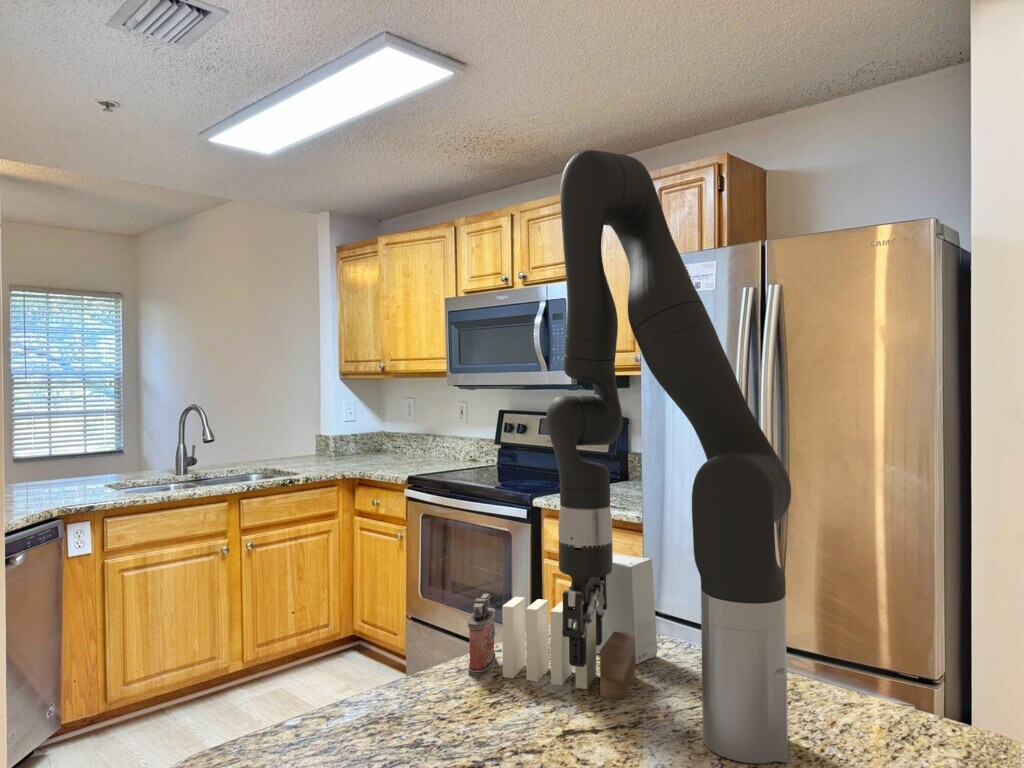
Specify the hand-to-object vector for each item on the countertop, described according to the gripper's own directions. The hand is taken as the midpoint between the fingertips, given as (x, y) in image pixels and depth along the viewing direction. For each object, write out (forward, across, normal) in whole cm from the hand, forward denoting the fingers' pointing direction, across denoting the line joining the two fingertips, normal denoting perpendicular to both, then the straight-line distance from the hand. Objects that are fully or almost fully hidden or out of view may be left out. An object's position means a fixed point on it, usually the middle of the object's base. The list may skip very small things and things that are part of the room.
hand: (586, 654), depth 99 cm
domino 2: (+4, 0, -7) cm, 8 cm away
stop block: (+4, 0, +4) cm, 6 cm away
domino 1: (+4, 0, -11) cm, 11 cm away
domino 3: (+4, 0, -4) cm, 5 cm away
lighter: (+4, 0, -16) cm, 16 cm away
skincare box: (+4, -12, +3) cm, 13 cm away
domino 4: (+4, 0, 0) cm, 4 cm away
